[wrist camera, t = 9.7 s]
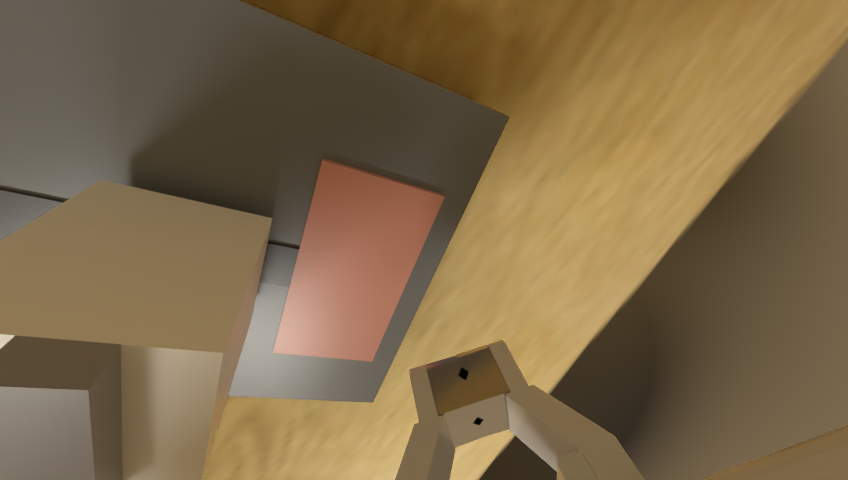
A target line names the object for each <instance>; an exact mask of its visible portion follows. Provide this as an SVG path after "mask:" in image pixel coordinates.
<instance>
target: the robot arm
mask: <svg viewBox="0 0 848 480" xmlns="http://www.w3.org/2000/svg"><path fill="white" fill-rule="evenodd" d="M410 379H411V384H412V389H413V394H414V398H415V403H416V408H417V413H418V418H419V423H417V424H414V427H413V430H412V433H411V436H410V439H409V442H408V444H407V447H406V450H405V453H404V456H403V459H402V462H401V465H400V467H399V470H398V473H397V476H396V479H395V480H449V479H450V474H451V469H452V464H453V459H454V454H455V447H458V446H460V445H463V444H466V443H468V442H471V441H474V440H476V439H479V438H482V437H485V436H488V435H491V434H495V433H498V432H501V431H504V430H508V429H510V431H511V432H512V433H513V434H514V435H516V436H517V437H518V438H519V439H520V440H521V441H522V442H524V443H525V444H526V445H527V446H528V447H529V448H531V449H532V450H533V451H534V452H535V453H536V454H537V455H538V456H540V457H541V458H542V459H543V460H544V461H545V462H546V463H548V464H549V465H550V466H551V467H552V468H553V469H555V470H556V471H557V480H644V478H643V477H642V476H641V474H640V473H639V471H638V470H637V468H636V467H635V465H634V464H633V462H632V461H631V459H630V458H629V457H628V455H627V454H626V452H625V451H624V449H623V448H622V446H621V445H620V443H619V442H618V440H617V439H616V437H615V436H614V435H612V434H610V433H609V432H607V431H606V430H604V429H603V428H601V427H599V426H598V425H596V424H594V423H593V422H591V421H590V420H588V419H587V418H585V417H584V416H582V415H580V414H579V413H577V412H576V411H574V410H573V409H571V408H569V407H568V406H566V405H564V404H563V403H561V402H560V401H558V400H557V399H555V398H554V397H552V396H550V395H549V394H547V393H546V392H544V391H542V390H541V389H539V388H538V387H536V386H535V385H531V386H528V384H527V382H526V380H525V378H524V377H523V375H522V373H521V371H520V369H519V367H518V366H517V364H516V362H515V360H514V358H513V356H512V354H511V353H510V351H509V349H508V347H507V345H506V343H505V342H504V341H503V340H500V341H497V342H495V343H492V344H489V345H484V346H481V347H478V348H475V349H472V350H469V351H466V352H463V353H460V354H457V355H456V356H453V357H450V358H446V359H443V360H440V361H436V362H433V363H430V364H426V365H423V366H420V367H416V368H413V369H410ZM699 480H848V425H847V426H844V427H841V428H839V429H836V430H833V431H830V432H828V433H825V434H822V435H819V436H817V437H814V438H811V439H808V440H806V441H803V442H800V443H797V444H795V445H792V446H789V447H786V448H784V449H781V450H778V451H775V452H773V453H770V454H767V455H765V456H762V457H759V458H756V459H754V460H751V461H748V462H745V463H742V464H740V465H737V466H734V467H732V468H729V469H726V470H724V471H721V472H718V473H715V474H712V475H710V476H707V477H704V478H701V479H699Z"/></svg>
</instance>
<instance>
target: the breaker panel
mask: <svg viewBox="0 0 848 480" xmlns="http://www.w3.org/2000/svg"><path fill="white" fill-rule="evenodd" d="M508 119H509V117H508V116H506V115H504V114H502V113H500V112H498V111H496V110H493V109H491V108H489V107H487V106H485V105H483V104H481V103H479V102H477V101H474V100H472V99H470V98H467V97H465V96H463V95H460V94H458V93H456V92H454V91H451V90H449V89H447V88H444V87H442V86H440V85H437V84H435V83H433V82H430V81H428V80H426V79H424V78H421V77H419V76H417V75H414V74H412V73H410V72H407V71H405V70H403V69H400V68H398V67H396V66H393V65H391V64H389V63H387V62H384V61H382V60H380V59H377V58H375V57H373V56H370V55H368V54H366V53H363V52H361V51H359V50H356V49H354V48H352V47H350V46H347V45H345V44H343V43H340V42H338V41H336V40H333V39H331V38H329V37H326V36H324V35H322V34H319V33H317V32H315V31H313V30H310V29H308V28H306V27H303V26H301V25H299V24H296V23H294V22H292V21H289V20H287V19H285V18H282V17H280V16H278V15H276V14H273V13H271V12H269V11H266V10H264V9H262V8H259V7H257V6H255V5H252V4H250V3H248V2H245V1H243V0H0V240H2V239H4V238H5V237H7V236H9V235H10V234H12V233H14V232H15V231H17V230H18V229H20V228H22V227H23V226H25V225H27V224H28V223H30V222H32V221H33V220H35V219H37V218H38V217H40V216H42V215H43V214H45V213H47V212H48V211H50V210H52V209H53V208H55V207H57V206H58V205H60V204H62V203H63V202H65V201H67V200H68V199H70V198H71V197H73V196H75V195H76V194H78V193H80V192H81V191H83V190H85V189H86V188H88V187H90V186H91V185H93V184H95V183H96V182H98V181H100V180H105V181H109V182H114V183H118V184H123V185H127V186H131V187H136V188H140V189H145V190H149V191H154V192H158V193H163V194H167V195H171V196H176V197H180V198H185V199H189V200H194V201H198V202H203V203H207V204H211V205H216V206H220V207H225V208H229V209H234V210H238V211H242V212H247V213H251V214H256V215H260V216H265V217H269V218H272V223H271V228H270V233H269V238H268V242H267V247H266V252H265V257H264V262H263V266H262V271H261V276H260V281H259V286H258V290H257V295H256V300H255V305H254V310H253V315H252V319H251V322H250V326H249V329H248V332H247V335H246V339H245V342H244V345H243V348H242V352H241V355H240V358H239V361H238V365H237V368H236V371H235V374H234V378H233V381H232V384H231V387H230V391H229V394H228V396H236V397H259V398H282V399H305V400H328V401H351V402H373V401H374V399H375V397H376V395H377V393H378V391H379V389H380V387H381V384H382V382H383V380H384V378H385V376H386V374H387V372H388V370H389V368H390V366H391V364H392V361H393V359H394V357H395V355H396V353H397V351H398V349H399V347H400V345H401V343H402V341H403V339H404V336H405V334H406V332H407V330H408V328H409V326H410V324H411V322H412V320H413V318H414V316H415V313H416V311H417V309H418V307H419V305H420V303H421V301H422V299H423V297H424V295H425V293H426V290H427V288H428V286H429V284H430V282H431V280H432V278H433V276H434V274H435V272H436V270H437V267H438V265H439V263H440V261H441V259H442V257H443V255H444V253H445V251H446V249H447V247H448V244H449V242H450V240H451V238H452V236H453V234H454V232H455V230H456V228H457V226H458V224H459V221H460V219H461V217H462V215H463V213H464V211H465V209H466V207H467V205H468V203H469V201H470V198H471V196H472V194H473V192H474V190H475V188H476V186H477V184H478V182H479V180H480V178H481V175H482V173H483V171H484V169H485V167H486V165H487V163H488V161H489V159H490V157H491V155H492V152H493V150H494V148H495V146H496V144H497V142H498V140H499V138H500V136H501V134H502V132H503V129H504V127H505V125H506V123H507V121H508Z"/></svg>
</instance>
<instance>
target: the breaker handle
mask: <svg viewBox="0 0 848 480" xmlns="http://www.w3.org/2000/svg"><path fill="white" fill-rule="evenodd" d="M271 223H272V218H269V217H265V216H260V215H256V214H251V213H247V212H242V211H238V210H234V209H229V208H225V207H220V206H216V205H211V204H207V203H203V202H198V201H194V200H189V199H185V198H180V197H176V196H171V195H167V194H163V193H158V192H154V191H149V190H145V189H140V188H136V187H131V186H127V185H123V184H118V183H114V182H109V181H105V180H100V181H98V182H96V183H95V184H93V185H91V186H90V187H88V188H86V189H85V190H83V191H81V192H80V193H78V194H76V195H75V196H73V197H71V198H70V199H68V200H67V201H65V202H63V203H62V204H60V205H58V206H57V207H55V208H53V209H52V210H50V211H48V212H47V213H45V214H43V215H42V216H40V217H38V218H37V219H35V220H33V221H32V222H30V223H28V224H27V225H25V226H23V227H22V228H20V229H18V230H17V231H15V232H14V233H12V234H10V235H9V236H7V237H5V238H4V239H2V240H0V480H202V478H203V475H204V472H205V468H206V465H207V462H208V459H209V455H210V452H211V449H212V446H213V442H214V439H215V436H216V433H217V429H218V426H219V423H220V420H221V416H222V413H223V410H224V407H225V404H226V400H227V397H228V394H229V391H230V387H231V384H232V381H233V378H234V374H235V371H236V368H237V365H238V361H239V358H240V355H241V352H242V348H243V345H244V342H245V339H246V335H247V332H248V329H249V326H250V322H251V319H252V315H253V310H254V305H255V300H256V295H257V290H258V286H259V281H260V276H261V271H262V266H263V262H264V257H265V252H266V247H267V242H268V238H269V233H270V228H271Z"/></svg>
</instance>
